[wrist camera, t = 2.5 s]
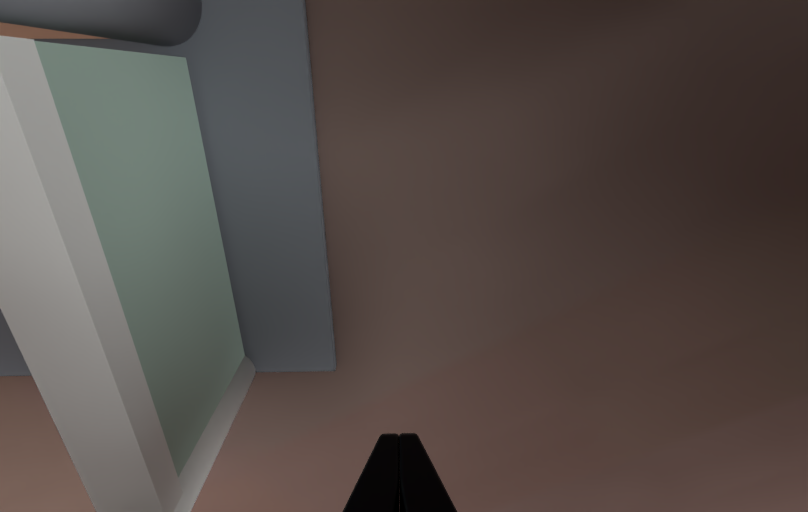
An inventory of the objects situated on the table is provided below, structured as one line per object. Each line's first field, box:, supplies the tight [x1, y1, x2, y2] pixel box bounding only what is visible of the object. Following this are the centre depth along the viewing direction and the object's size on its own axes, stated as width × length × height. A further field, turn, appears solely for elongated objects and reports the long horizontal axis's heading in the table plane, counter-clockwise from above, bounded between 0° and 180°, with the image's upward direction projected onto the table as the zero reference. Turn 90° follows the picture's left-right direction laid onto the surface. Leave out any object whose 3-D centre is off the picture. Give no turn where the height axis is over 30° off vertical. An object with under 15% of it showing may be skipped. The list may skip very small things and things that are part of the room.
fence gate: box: [0, 36, 255, 512], centre depth 11 cm, size 12×2×7 cm, turn 0°
